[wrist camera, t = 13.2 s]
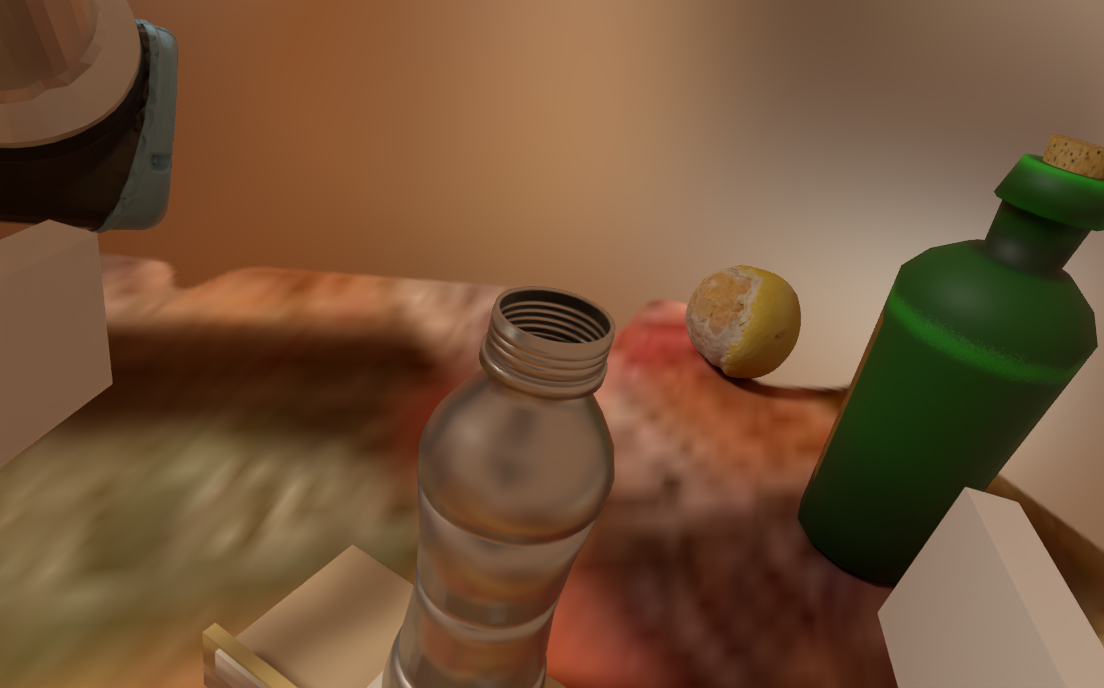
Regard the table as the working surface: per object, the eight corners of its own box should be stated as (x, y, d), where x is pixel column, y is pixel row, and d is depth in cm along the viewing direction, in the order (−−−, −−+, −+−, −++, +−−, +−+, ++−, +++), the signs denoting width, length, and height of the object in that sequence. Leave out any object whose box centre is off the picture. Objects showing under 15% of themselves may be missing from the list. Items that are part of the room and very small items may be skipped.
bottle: (908, 509, 55) (1132, 147, 41) (956, 622, 45) (1266, 201, 32) (771, 472, 55) (949, 100, 41) (791, 575, 46) (1027, 139, 32)
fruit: (731, 335, 74) (766, 247, 70) (799, 396, 66) (844, 301, 61) (649, 338, 70) (680, 243, 65) (711, 403, 62) (752, 301, 57)
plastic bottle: (555, 767, 30) (709, 368, 20) (394, 822, 27) (486, 383, 17) (501, 638, 35) (604, 266, 25) (359, 672, 32) (416, 263, 22)
